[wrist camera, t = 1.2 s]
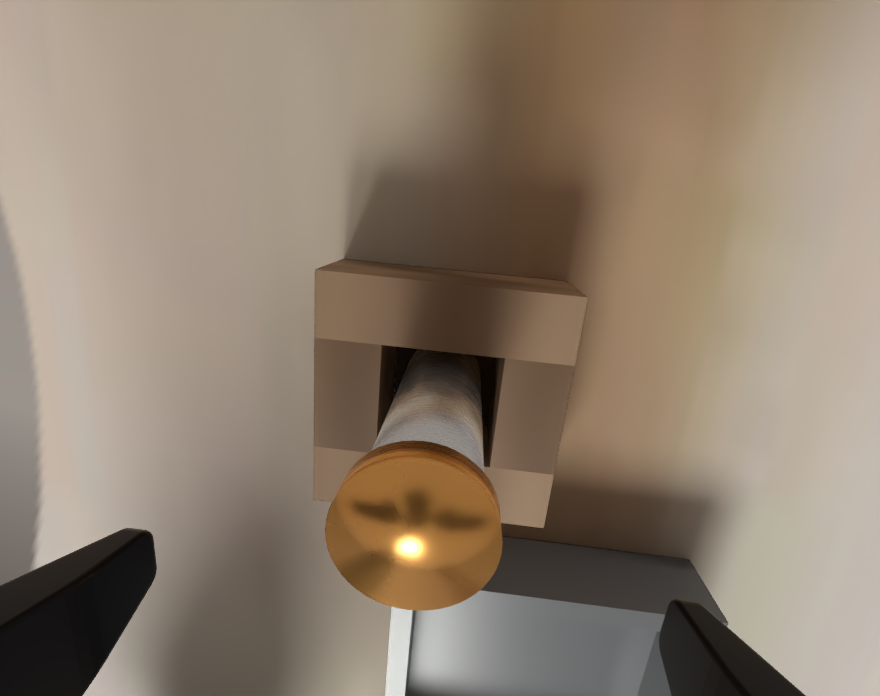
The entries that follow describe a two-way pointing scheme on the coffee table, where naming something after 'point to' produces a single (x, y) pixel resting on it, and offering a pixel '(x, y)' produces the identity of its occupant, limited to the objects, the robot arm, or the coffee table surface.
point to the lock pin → (421, 494)
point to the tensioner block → (457, 331)
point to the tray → (547, 627)
